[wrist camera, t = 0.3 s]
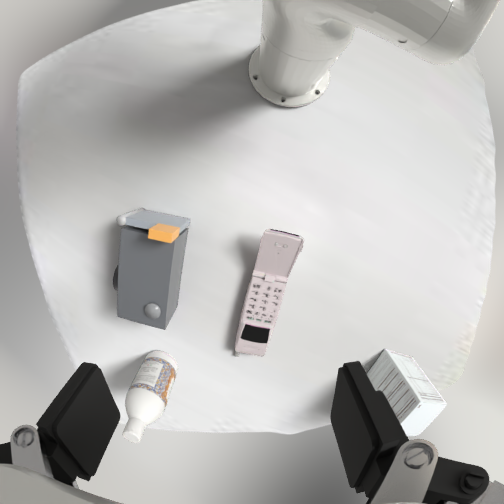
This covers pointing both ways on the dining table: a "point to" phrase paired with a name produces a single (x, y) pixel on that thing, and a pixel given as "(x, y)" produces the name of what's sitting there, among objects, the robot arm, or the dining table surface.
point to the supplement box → (406, 390)
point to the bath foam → (149, 393)
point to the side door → (155, 224)
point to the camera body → (148, 277)
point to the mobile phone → (266, 291)
